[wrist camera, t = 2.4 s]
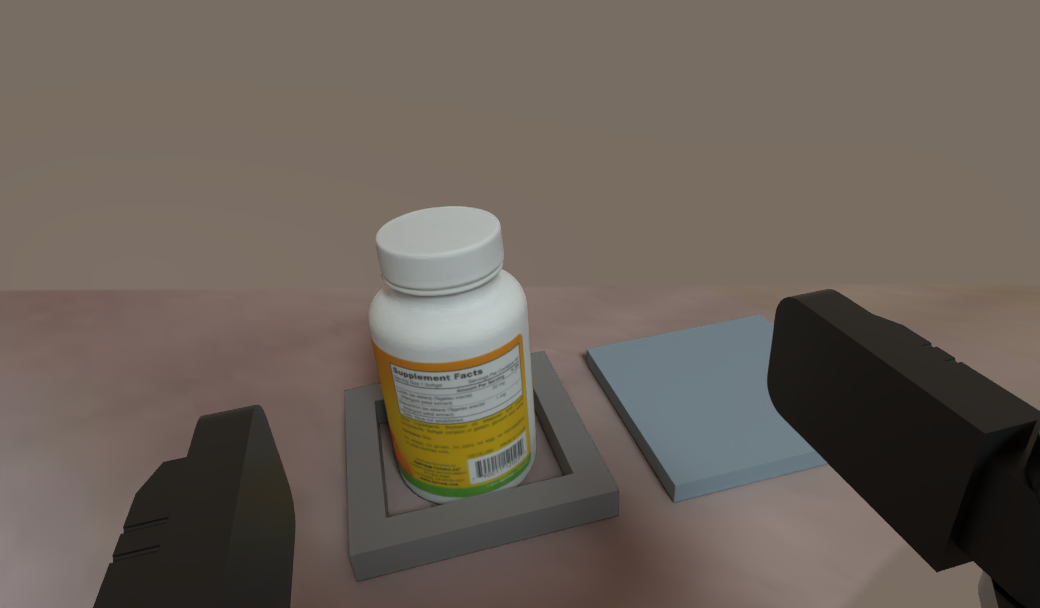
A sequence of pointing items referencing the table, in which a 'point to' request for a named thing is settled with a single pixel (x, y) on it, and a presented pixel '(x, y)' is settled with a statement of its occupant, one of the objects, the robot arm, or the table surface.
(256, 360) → the table surface
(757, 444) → the board
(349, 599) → the table surface
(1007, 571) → the robot arm
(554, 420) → the collar
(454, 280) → the supplement bottle
